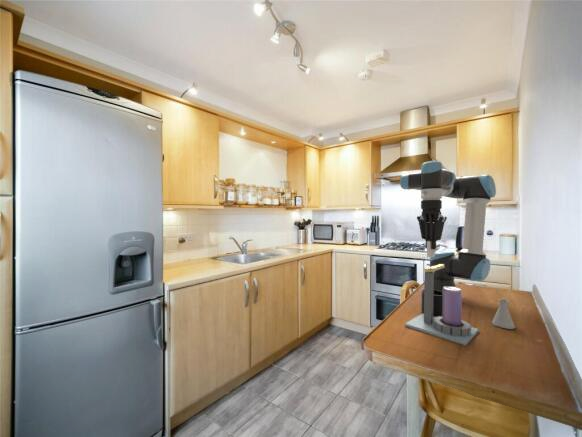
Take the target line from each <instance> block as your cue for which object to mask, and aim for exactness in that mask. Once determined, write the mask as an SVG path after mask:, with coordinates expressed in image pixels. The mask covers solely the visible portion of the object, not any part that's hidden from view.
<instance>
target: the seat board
mask: <svg viewBox="0 0 582 437" xmlns="http://www.w3.org/2000/svg"><path fill="white" fill-rule="evenodd" d="M423 285H424V286H423V288H424V289H423V290H424V313H421V314H419V315H418V316H415V317H414V318H412V319H410V320H409V321H407V322H405V323H404V326H405V327H406V328H408V329H413V330H416V331H419V332H422V333H426V334H428V335H431V336H434V337H437V338H441V339H444V340H446V341H447V340H448V341H451V342H454V343H457V344H460V345H463V346H467V345H468V344H469V343H470V342H471V341H472V340H473V339H474V337H475V336H476V335H477V334H478V332H479V328H476V327H473V326H472V325H471V324H470V323H469V322H467V321H465V320H463V319H461V327H455V326H449V325H446V324H444V323H442V316H433V298H434V273H429V272H424V284H423Z"/></svg>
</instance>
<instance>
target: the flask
mask: <svg viewBox="0 0 582 437" xmlns="http://www.w3.org/2000/svg"><path fill="white" fill-rule="evenodd" d="M497 299H498V298H497ZM498 302H499V304H498V309H497V311H496V313H495V315H494V316H493V319H492V320H491V324H492V325H493V326H495V327H498V328H501V329H502V328H503V329H506V330H513V329H516V326H515V323H514V321H513V319H512V316H511V313H510V311H509V303H510V301H509V300H507V299H505V298H504V299H503V298H499V299H498Z"/></svg>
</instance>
